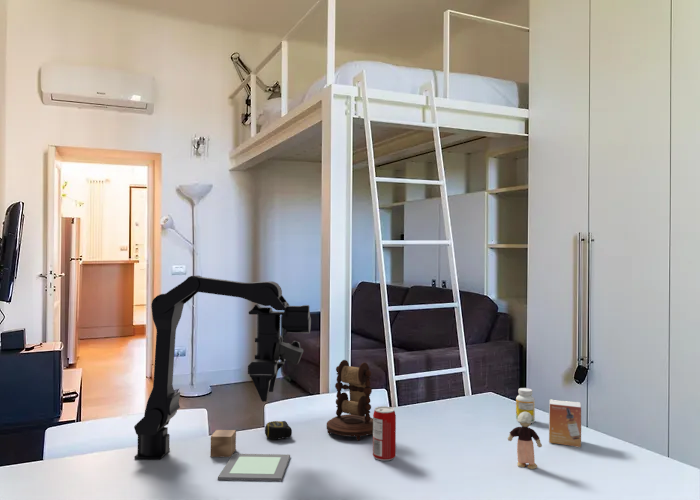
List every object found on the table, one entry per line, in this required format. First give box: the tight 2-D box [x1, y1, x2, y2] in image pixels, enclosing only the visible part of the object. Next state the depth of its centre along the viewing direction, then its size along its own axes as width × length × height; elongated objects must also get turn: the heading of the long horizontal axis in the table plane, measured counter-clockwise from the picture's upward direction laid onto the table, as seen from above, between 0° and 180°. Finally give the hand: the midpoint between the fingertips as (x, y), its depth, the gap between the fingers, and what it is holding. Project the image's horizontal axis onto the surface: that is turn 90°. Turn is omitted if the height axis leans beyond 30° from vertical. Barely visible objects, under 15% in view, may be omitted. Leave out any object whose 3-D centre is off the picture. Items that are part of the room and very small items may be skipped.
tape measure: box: [264, 420, 293, 440], centre depth 143 cm, size 7×7×4 cm
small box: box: [548, 399, 582, 448], centre depth 141 cm, size 8×6×10 cm
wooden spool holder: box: [326, 359, 373, 442], centre depth 147 cm, size 15×15×20 cm
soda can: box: [372, 406, 397, 462], centre depth 129 cm, size 6×6×12 cm
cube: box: [209, 429, 237, 458], centre depth 131 cm, size 5×5×5 cm
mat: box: [217, 453, 291, 482], centre depth 122 cm, size 14×14×1 cm
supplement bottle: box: [515, 387, 536, 424], centre depth 159 cm, size 5×5×10 cm
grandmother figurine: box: [507, 412, 543, 470], centre depth 124 cm, size 8×4×13 cm, turn 71°
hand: (267, 396), depth 129 cm, fingers open, 9 cm apart
